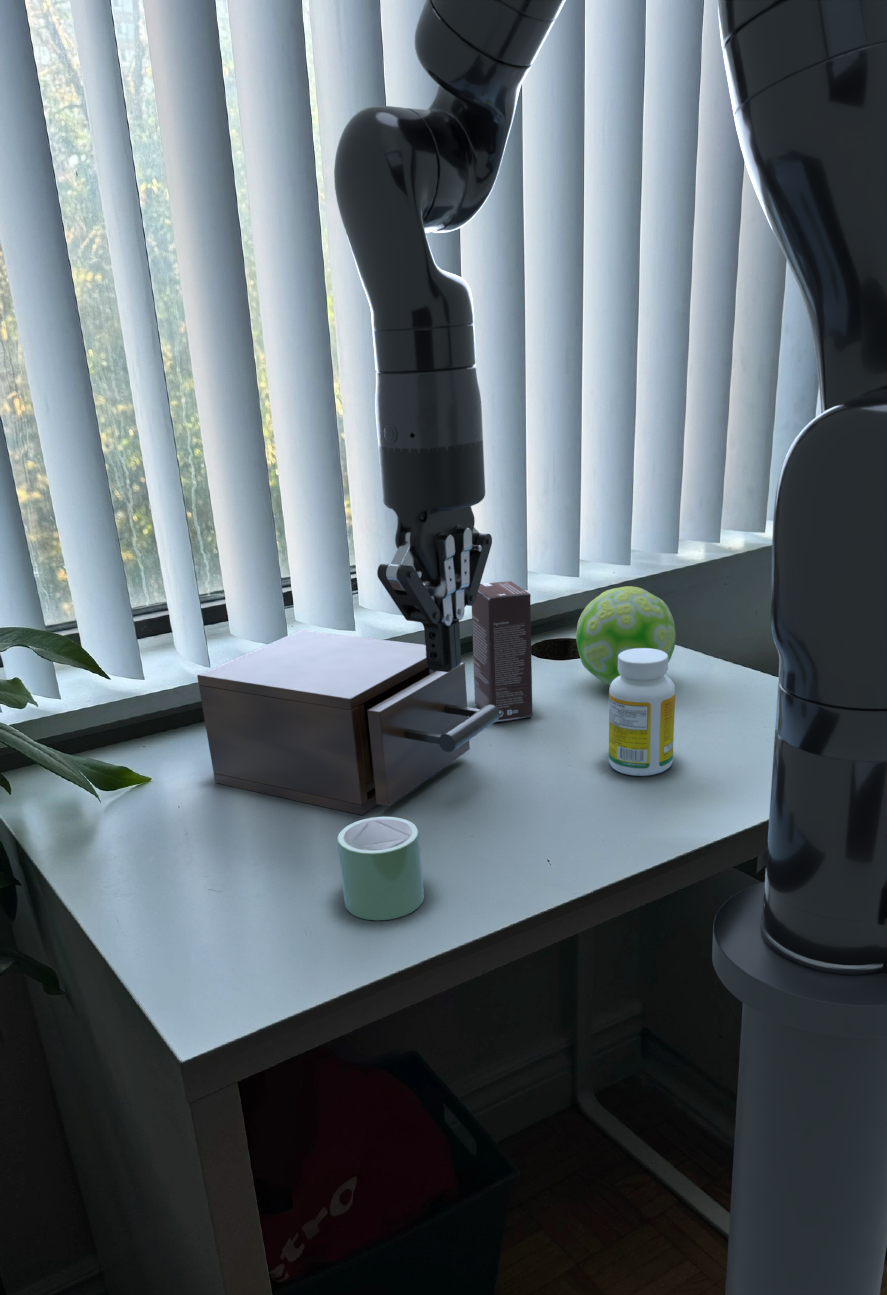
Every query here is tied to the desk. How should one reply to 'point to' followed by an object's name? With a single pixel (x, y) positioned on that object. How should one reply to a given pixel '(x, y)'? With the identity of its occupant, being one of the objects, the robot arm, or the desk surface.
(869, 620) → the robot arm
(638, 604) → the decorative ball
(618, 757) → the supplement bottle
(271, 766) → the cabinet
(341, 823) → the desk surface
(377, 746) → the drawer
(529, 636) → the box
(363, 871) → the pot
